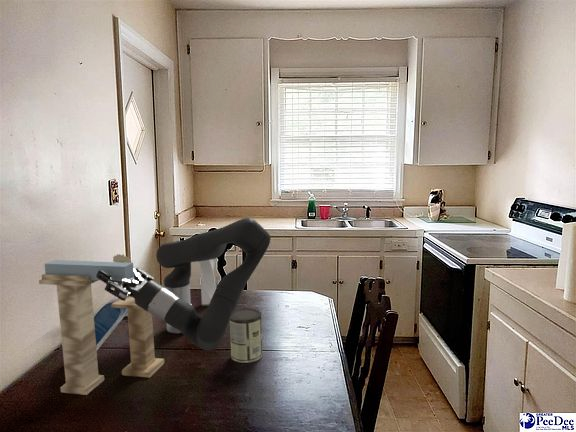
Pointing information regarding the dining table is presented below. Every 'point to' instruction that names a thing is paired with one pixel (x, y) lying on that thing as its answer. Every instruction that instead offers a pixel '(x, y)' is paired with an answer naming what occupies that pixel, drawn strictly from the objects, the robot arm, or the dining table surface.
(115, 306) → the short wooden pedestal
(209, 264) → the skyscraper
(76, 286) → the tall stand
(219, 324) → the robot arm
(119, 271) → the bar
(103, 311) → the blue food package
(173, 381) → the dining table surface
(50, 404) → the dining table surface
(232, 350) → the coffee can
